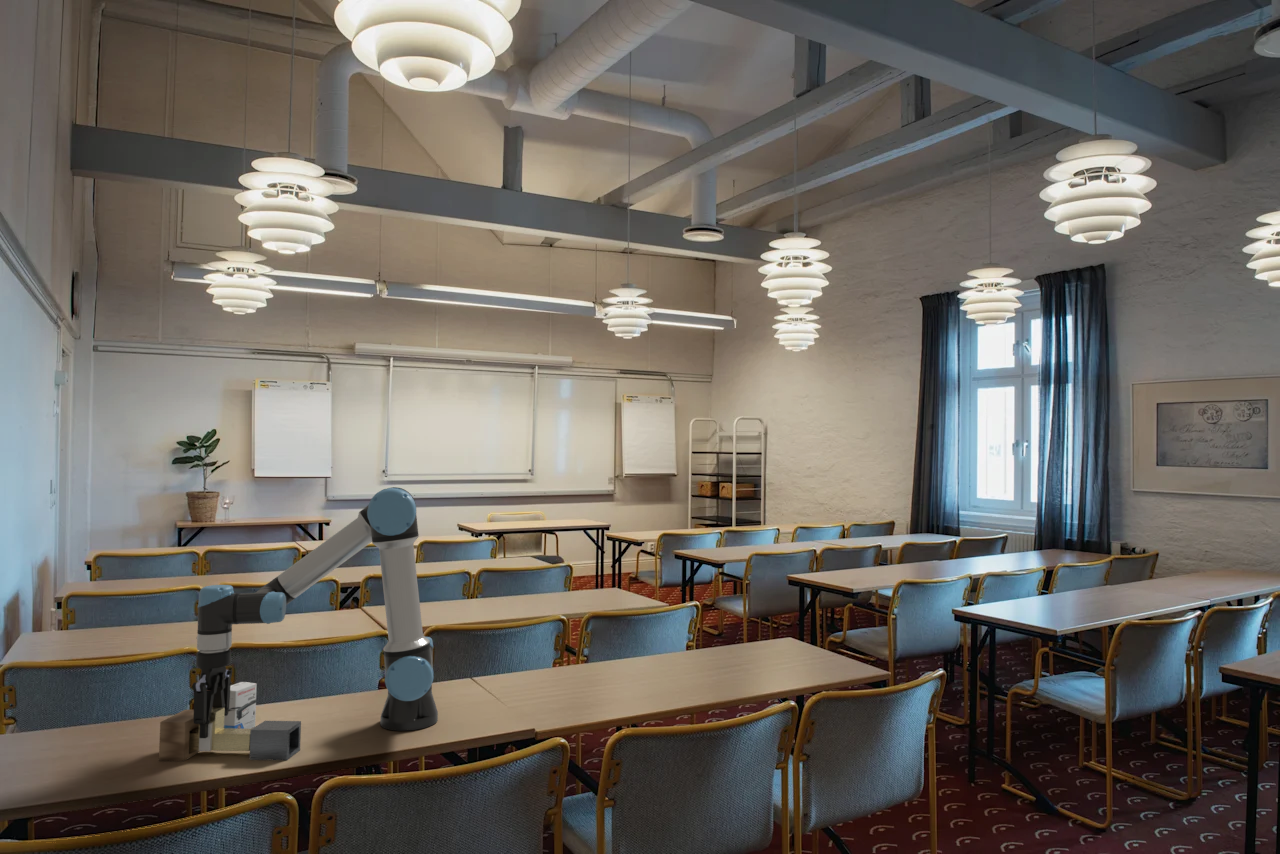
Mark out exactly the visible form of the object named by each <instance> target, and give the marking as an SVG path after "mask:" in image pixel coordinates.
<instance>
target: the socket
mask: <svg viewBox="0 0 1280 854" xmlns="http://www.w3.org/2000/svg"><path fill="white" fill-rule="evenodd" d="M193 720H194V709H184V710H181V711H180V712H177V713H176V714H174V715H172V716H169V717H167V718H166V719H164V720H162V721H160V722H159V747H158V762H185V761H187V760H188V759H190V758H191V757H193V756H195V755H196V754H198V753H200V752H201V751H199V750H189V737H190V730H192V729H193V728H199V724H194V722H193Z"/></svg>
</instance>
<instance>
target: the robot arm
mask: <svg viewBox="0 0 1280 854" xmlns="http://www.w3.org/2000/svg"><path fill="white" fill-rule="evenodd" d="M418 527H419V526H418V517H417V504H416V500H415V498H414V496H413V495H412V494H411V493H410V492H409V491H407V490H406V489H405V488H401V487H396V486H395V487H394V486H393V487H388V488H384V489H381V490H380V491H379V490H378V492H377V493H375V494H374V495H373V496H372V498H371V499H370V500H369V502H368V504H367V505H366V506H365V507H364V508H363V509H362V510H360V511H359V512H358V515H357V518H355V519H354V520H352V521H351V522H350V523H348V524H347V525H346V526H344V527H343V528H341V529H340V530H339V531H337V532H335V534H333V535H332V536H331V537H329V538H328V539H326V540H325V541H324V542H322V543H321V544H320V545H318V546H317V547H315V549H313V550H312V551H310V552H309V553H307V554H306V555H305V556H303V557H302V558H301V559H299V560H298V561H296V562H295V563H293V564H292V565H291V566H290V567H288V568H287V569H285V570H284V571H283V572H281V573H280V574H278V576H276V577H275V578H272V580H271V581H269V582H267V583H266V584H264V585H262V586H261V587H260V588H259V589H258V590H257V591H256V592H244V593H243V592H242V593H240V592H238V593H237V592H235V591H234V586H232V585H230V584H212V585H206V586H203V587H202V588H200V590H199V594H198V602H197V603H198V605H197V630H196V631H197V632H196V633H197V635H196V650H197V652H196V657H195V659H196V661H195V662H196V663H195V667H197V668H198V669H200V671H201V672H200V675H199V680H198V681H197V682H193V683H192V690H193V710H194V720H193V722H194V724H199V725H200V731H199V751H200V752H212V751H211V750H212V726H213V723H210V721H211V714H212V707H217V708H225V711H228V710H229V704H230V686H231V685H232V684H231V680H232V676H233V670H232V669H227V667H228V666H230V665H231V663H232V649H230V648H231V647H232V639H233V638H232V635H233V634H232V633H233V625H248V624H249V625H251V624H253V625H255V624H267V625H269V624H273V623H281V622H282V621H284V619H285V616H286V612H287V605H288V604H290V603H291V602H293V601H294V600H295V599H296V598H298V597H299V596H300V595H302V594H304V592H306V591H307V590H308V589H309V588H311V587H312V586H314V585H315V584H317V583H319V582H320V581H321V580H322V579H324V578H325V577H326V576H328V575H329V574H330V573H332V572H333V571H334V570H336V569H337V568H338V567H340V566H341V565H342V564H344V563H345V562H346V561H348V560H350V558H352V557H353V556H355V555H356V554H357V553H359V552H360V551H362V550H363V549H364V548H366V547H367V546H368V545H369V544H373V545H374V546H376V547H377V549H378V550H379V552H378V553H379V561H380V562H379V563H380V571H381V579H382V588H383V597H384V608H385V610H384V611H385V617H386V626H387V627H386V629H387V635H388V642H387V643H386V644H385V645H384V647H383V659H384V669H385V674H384V675H385V676H384V685H385V688H386V689H387V696H386V699H385V702H384V705H383V708H382V712H381V714H380V722H379V723H380V727H382V728H383V729H385V730H389V731H390V730H391V731H401V732H402V731H414V730H422V729H425V728H428V727H431V726H433V725H435V724H437V722H438V719H439V717H438V716H439V713H438V712H439V711H438V708H437V706H436V702H435V698H434V695H433V692H432V690H433V682H434V678H435V674H434V669H433V668H434V666H433V649H434V643H433V639H432V637H430V636H425V635H424V632H423V631H424V629H423V622H422V614H421V613H422V612H421V603H420V592H419V586H418V576H417V574H418V573H417V565H416V558H415V556H416V555H415V548H414V547H415V545H414V544H415V542H416V541H417V540H418V539H419V535H420V534H419V528H418ZM227 715H228V712H225V713H224V716H227Z"/></svg>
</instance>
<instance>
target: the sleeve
mask: <svg viewBox="0 0 1280 854" xmlns="http://www.w3.org/2000/svg"><path fill="white" fill-rule="evenodd" d="M301 729H302V721H301V720H264V721H261V723H259V724H258V725H255V727H253V728H251V730H250V751H249V760H250V761H288V760H290V759H291V758H292V757H293V756H295V755H296V754H297V753H298V752H300V751H301V740H302V737H301V736H302V735H301V732H302V730H301Z"/></svg>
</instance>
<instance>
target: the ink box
mask: <svg viewBox="0 0 1280 854" xmlns="http://www.w3.org/2000/svg"><path fill="white" fill-rule="evenodd" d="M256 709H257V683H255V682H249V681H248V682H247V681H239V682H237V683H234V684H230V704H229V710H228V711H225V712H228V715H227V716H224V728H238V729H253V728H254V727H256V714H257V713H256V712H257V710H256Z"/></svg>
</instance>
